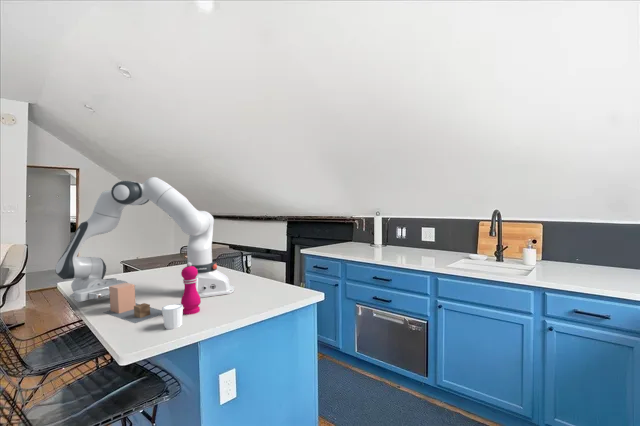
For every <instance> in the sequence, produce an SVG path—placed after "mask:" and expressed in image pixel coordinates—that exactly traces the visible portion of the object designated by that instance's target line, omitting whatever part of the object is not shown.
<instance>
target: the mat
mask: <svg viewBox="0 0 640 426" xmlns="http://www.w3.org/2000/svg"><path fill="white" fill-rule="evenodd" d="M135 303H136V302H135ZM139 304H140V303H136V305H139ZM103 313H104V314H106V315H109V316H112V317H116V318H119V319H121V320H124V321H127V322H130V323H132V324H133V323H134V324H137V323H140V322H143V321H146V320H150V319H152V318H155V317H159V316H163V314H162V309H158V308H156V307H155V308H154V307H152V306H150V315H148V316H145V317H142V318H138V317H135V316H134V309H133V310H129V311H126V312H122V313H116V312H113V311H111V309H110V310H107V311H106V310H105V311H103Z"/></svg>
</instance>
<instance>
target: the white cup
mask: <svg viewBox="0 0 640 426" xmlns="http://www.w3.org/2000/svg"><path fill="white" fill-rule="evenodd" d="M183 309H184V307H183V305H182V304H181V303H171V304H168V305H164V306H163V307H162V308H161V310H162V319H163V326H164V328H166V329H165V330H174V328H175V329H178V327H179V328H180V326H181V325H182V326H183V315H184V314H183ZM182 326H181V327H182Z"/></svg>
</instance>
